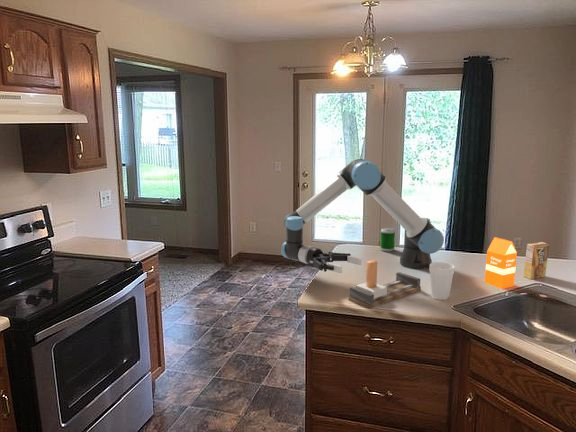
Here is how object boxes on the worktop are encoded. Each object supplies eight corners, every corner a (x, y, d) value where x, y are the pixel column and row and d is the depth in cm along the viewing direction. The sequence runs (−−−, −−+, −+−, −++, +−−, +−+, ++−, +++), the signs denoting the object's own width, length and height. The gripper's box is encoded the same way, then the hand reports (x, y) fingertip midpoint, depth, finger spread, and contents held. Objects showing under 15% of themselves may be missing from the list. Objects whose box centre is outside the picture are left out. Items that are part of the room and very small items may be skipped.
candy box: (537, 274, 210) (541, 241, 207) (545, 277, 206) (549, 244, 203) (523, 276, 207) (526, 243, 204) (530, 279, 203) (534, 246, 200)
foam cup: (424, 292, 189) (426, 262, 186) (446, 291, 190) (448, 261, 187) (433, 301, 180) (435, 270, 177) (456, 300, 181) (458, 269, 178)
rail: (399, 282, 201) (400, 271, 200) (420, 289, 192) (421, 278, 191) (348, 299, 183) (348, 287, 182) (368, 308, 174) (369, 296, 173)
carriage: (369, 287, 188) (370, 257, 185) (386, 294, 181) (387, 262, 178) (355, 292, 183) (356, 261, 180) (372, 299, 176) (373, 266, 173)
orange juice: (501, 288, 193) (505, 242, 188) (484, 282, 200) (487, 238, 196) (514, 285, 196) (518, 240, 192) (496, 279, 204) (500, 235, 200)
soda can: (394, 252, 246) (395, 230, 244) (380, 251, 248) (380, 230, 245) (394, 248, 254) (395, 227, 251) (380, 247, 255) (380, 226, 253)
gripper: (328, 257, 210) (368, 267, 196) (291, 270, 192) (332, 282, 178) (328, 241, 209) (368, 250, 195) (291, 253, 191) (332, 263, 177)
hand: (351, 265), depth 186 cm, fingers open, 13 cm apart
